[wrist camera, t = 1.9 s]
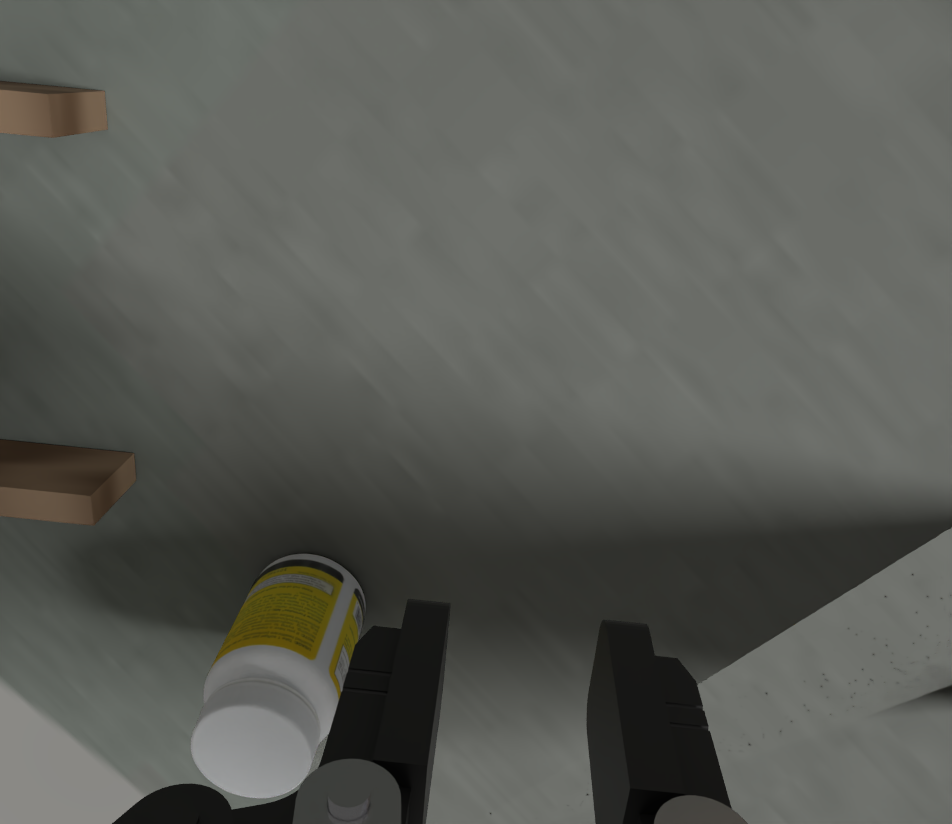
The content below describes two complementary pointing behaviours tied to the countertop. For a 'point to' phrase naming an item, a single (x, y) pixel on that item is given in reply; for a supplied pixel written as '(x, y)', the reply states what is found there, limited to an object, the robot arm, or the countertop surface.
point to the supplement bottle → (278, 677)
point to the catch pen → (43, 465)
